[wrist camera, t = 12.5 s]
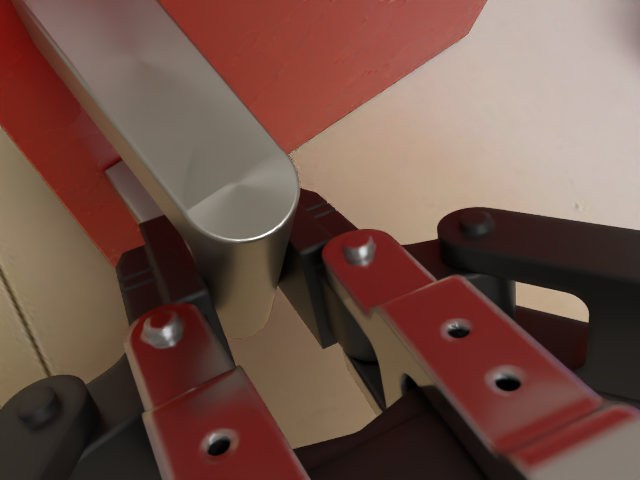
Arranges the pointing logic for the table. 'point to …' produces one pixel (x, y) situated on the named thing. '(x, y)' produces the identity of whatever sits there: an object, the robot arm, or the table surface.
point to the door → (201, 114)
